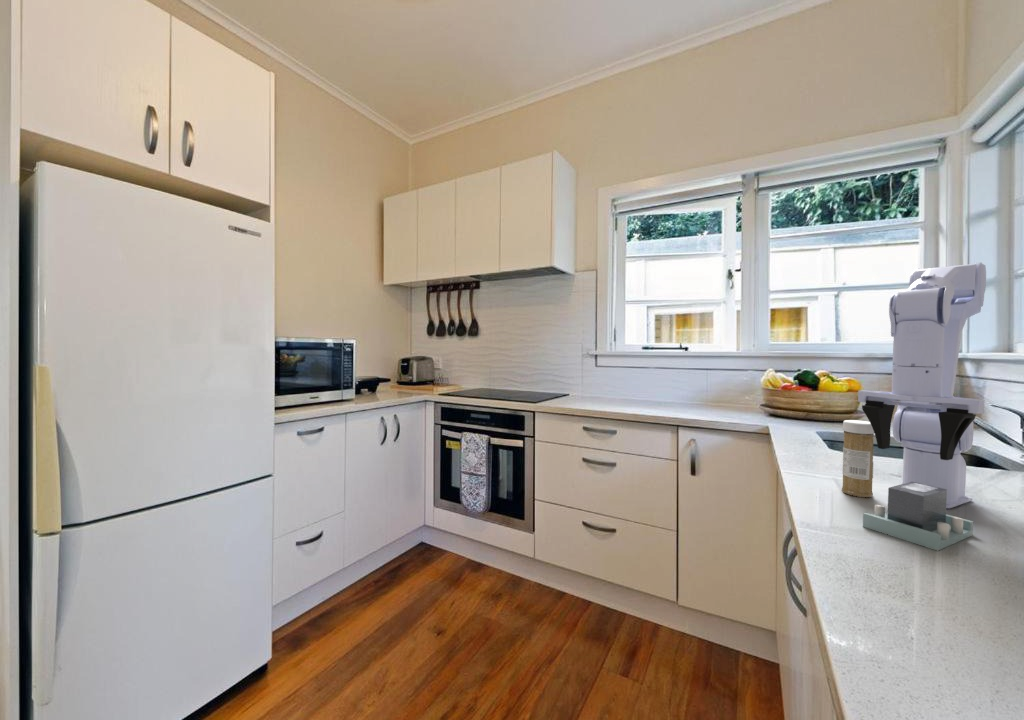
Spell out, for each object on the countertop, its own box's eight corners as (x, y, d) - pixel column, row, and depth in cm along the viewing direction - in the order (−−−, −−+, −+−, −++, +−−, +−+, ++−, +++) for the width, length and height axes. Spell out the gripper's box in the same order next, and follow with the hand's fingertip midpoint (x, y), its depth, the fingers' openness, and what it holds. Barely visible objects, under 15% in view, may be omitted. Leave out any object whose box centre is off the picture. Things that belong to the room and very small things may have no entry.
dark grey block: (910, 516, 67) (912, 481, 66) (945, 526, 63) (946, 488, 63) (887, 524, 64) (888, 487, 63) (922, 535, 60) (923, 495, 60)
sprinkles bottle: (876, 495, 79) (879, 422, 78) (867, 500, 76) (869, 424, 76) (846, 488, 82) (848, 418, 82) (836, 492, 80) (838, 420, 79)
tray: (899, 514, 70) (899, 497, 70) (972, 535, 62) (973, 515, 62) (862, 526, 65) (863, 508, 65) (937, 550, 57) (938, 529, 57)
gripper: (849, 364, 72) (846, 445, 72) (971, 369, 59) (967, 467, 59) (871, 364, 75) (868, 442, 75) (991, 368, 62) (987, 462, 62)
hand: (913, 453), depth 67 cm, fingers open, 7 cm apart
